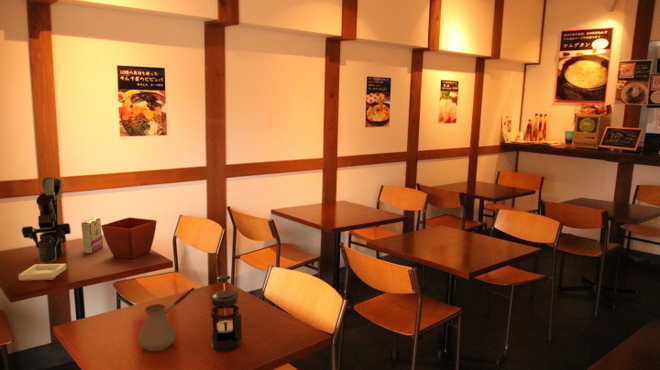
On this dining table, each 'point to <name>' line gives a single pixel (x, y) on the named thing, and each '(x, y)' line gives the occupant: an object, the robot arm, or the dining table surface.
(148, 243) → the plant pot
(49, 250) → the supplement bottle
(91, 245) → the candy bar box
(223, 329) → the french press
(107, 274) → the dining table surface
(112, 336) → the dining table surface
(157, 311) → the coffee pot
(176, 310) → the dining table surface
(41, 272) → the tray
